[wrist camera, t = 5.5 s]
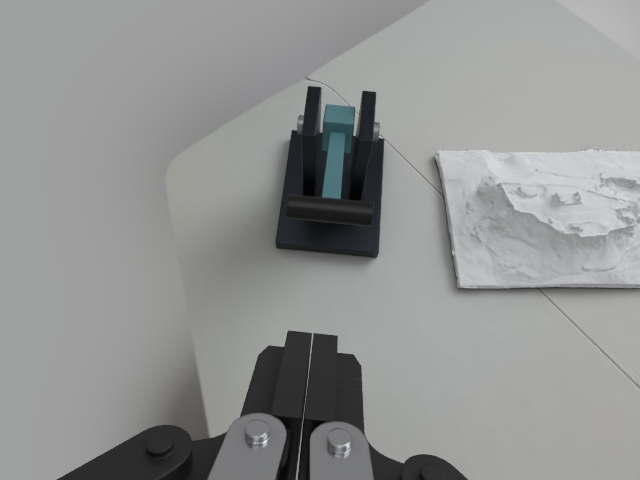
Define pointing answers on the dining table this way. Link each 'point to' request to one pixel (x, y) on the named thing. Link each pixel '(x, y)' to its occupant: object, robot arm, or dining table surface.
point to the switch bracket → (357, 184)
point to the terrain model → (543, 218)
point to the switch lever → (333, 177)
